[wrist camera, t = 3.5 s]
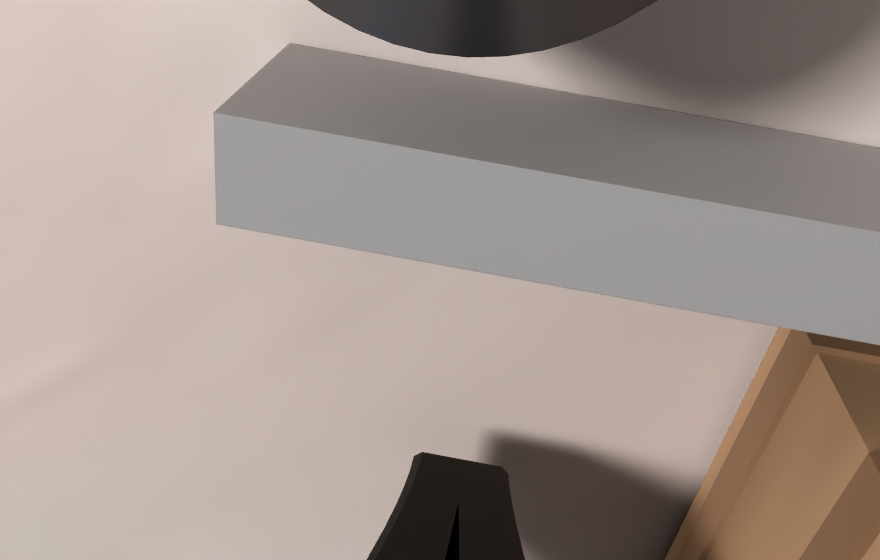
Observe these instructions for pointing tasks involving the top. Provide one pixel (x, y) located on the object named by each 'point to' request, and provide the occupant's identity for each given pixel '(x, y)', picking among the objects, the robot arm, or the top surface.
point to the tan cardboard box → (796, 460)
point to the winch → (481, 22)
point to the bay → (555, 189)
